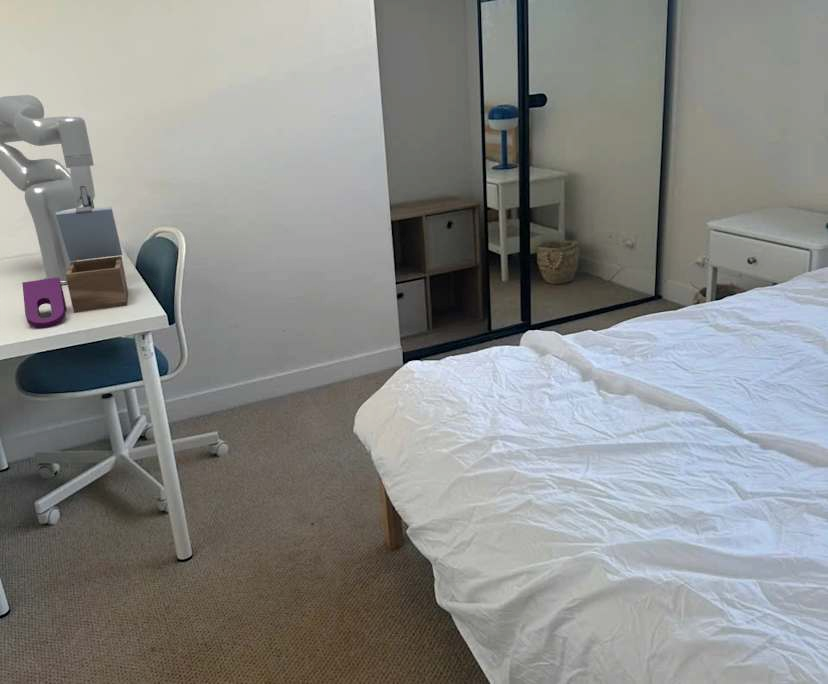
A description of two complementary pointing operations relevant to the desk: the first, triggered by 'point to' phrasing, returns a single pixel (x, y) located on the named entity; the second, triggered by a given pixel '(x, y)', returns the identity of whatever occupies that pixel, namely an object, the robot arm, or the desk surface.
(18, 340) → the desk surface
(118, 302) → the storage box
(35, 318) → the mounting bracket
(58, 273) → the robot arm
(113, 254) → the lid
